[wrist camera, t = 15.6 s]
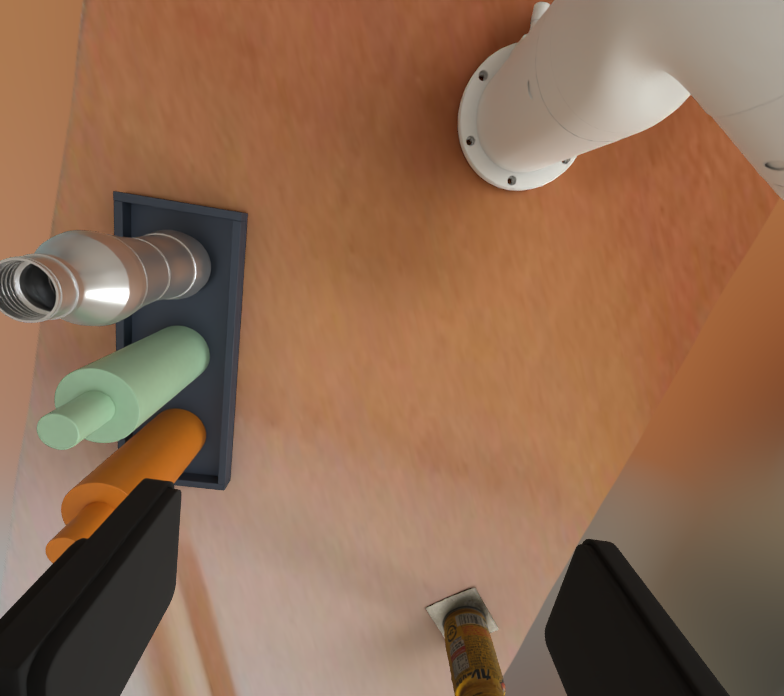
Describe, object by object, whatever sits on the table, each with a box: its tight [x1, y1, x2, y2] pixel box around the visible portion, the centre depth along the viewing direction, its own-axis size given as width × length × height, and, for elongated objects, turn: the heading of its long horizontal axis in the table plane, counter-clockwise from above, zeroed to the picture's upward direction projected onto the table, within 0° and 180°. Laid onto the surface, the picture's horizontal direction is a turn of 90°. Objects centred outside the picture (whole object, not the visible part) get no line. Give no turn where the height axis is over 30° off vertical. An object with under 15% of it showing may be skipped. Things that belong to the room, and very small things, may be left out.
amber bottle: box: [46, 409, 206, 563], centre depth 38 cm, size 6×6×18 cm
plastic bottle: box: [0, 230, 211, 326], centre depth 32 cm, size 6×7×20 cm
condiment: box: [426, 588, 505, 696], centre depth 51 cm, size 7×8×12 cm
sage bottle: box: [37, 326, 210, 450], centre depth 35 cm, size 6×6×18 cm
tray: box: [113, 191, 248, 490], centre depth 43 cm, size 31×12×2 cm, turn 171°
